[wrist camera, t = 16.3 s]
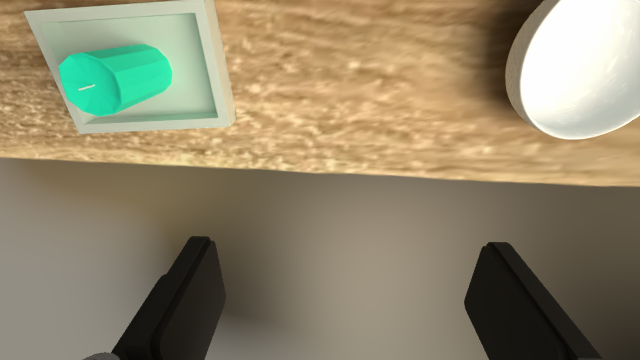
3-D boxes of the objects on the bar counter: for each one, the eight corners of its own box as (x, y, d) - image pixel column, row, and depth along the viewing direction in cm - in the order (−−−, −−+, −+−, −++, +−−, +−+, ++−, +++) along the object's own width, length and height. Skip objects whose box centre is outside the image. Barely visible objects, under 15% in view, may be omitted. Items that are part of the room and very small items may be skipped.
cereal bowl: (622, 103, 39) (678, 118, 33) (489, 135, 42) (517, 156, 35) (651, -54, 31) (730, -72, 25) (485, -2, 34) (520, -7, 28)
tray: (49, 11, 36) (23, 11, 33) (214, 0, 35) (203, -2, 32) (97, 125, 42) (79, 133, 39) (237, 118, 41) (229, 126, 38)
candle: (169, 46, 36) (104, 57, 26) (175, 96, 39) (119, 124, 29) (119, 41, 36) (33, 50, 26) (129, 91, 39) (55, 118, 29)
